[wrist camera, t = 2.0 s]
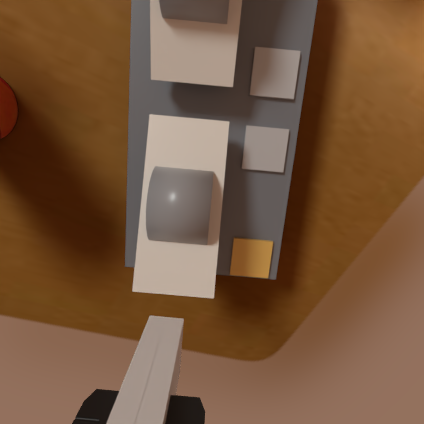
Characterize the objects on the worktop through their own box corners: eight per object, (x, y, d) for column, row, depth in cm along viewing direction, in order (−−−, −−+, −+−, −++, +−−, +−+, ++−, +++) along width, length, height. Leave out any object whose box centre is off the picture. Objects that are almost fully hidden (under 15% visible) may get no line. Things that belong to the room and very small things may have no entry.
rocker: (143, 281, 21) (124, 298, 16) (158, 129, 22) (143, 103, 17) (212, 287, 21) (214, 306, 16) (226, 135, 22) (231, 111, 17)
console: (140, 245, 28) (122, 269, 23) (151, -64, 23) (131, -130, 17) (265, 256, 28) (277, 283, 23) (307, -49, 23) (336, -109, 17)
